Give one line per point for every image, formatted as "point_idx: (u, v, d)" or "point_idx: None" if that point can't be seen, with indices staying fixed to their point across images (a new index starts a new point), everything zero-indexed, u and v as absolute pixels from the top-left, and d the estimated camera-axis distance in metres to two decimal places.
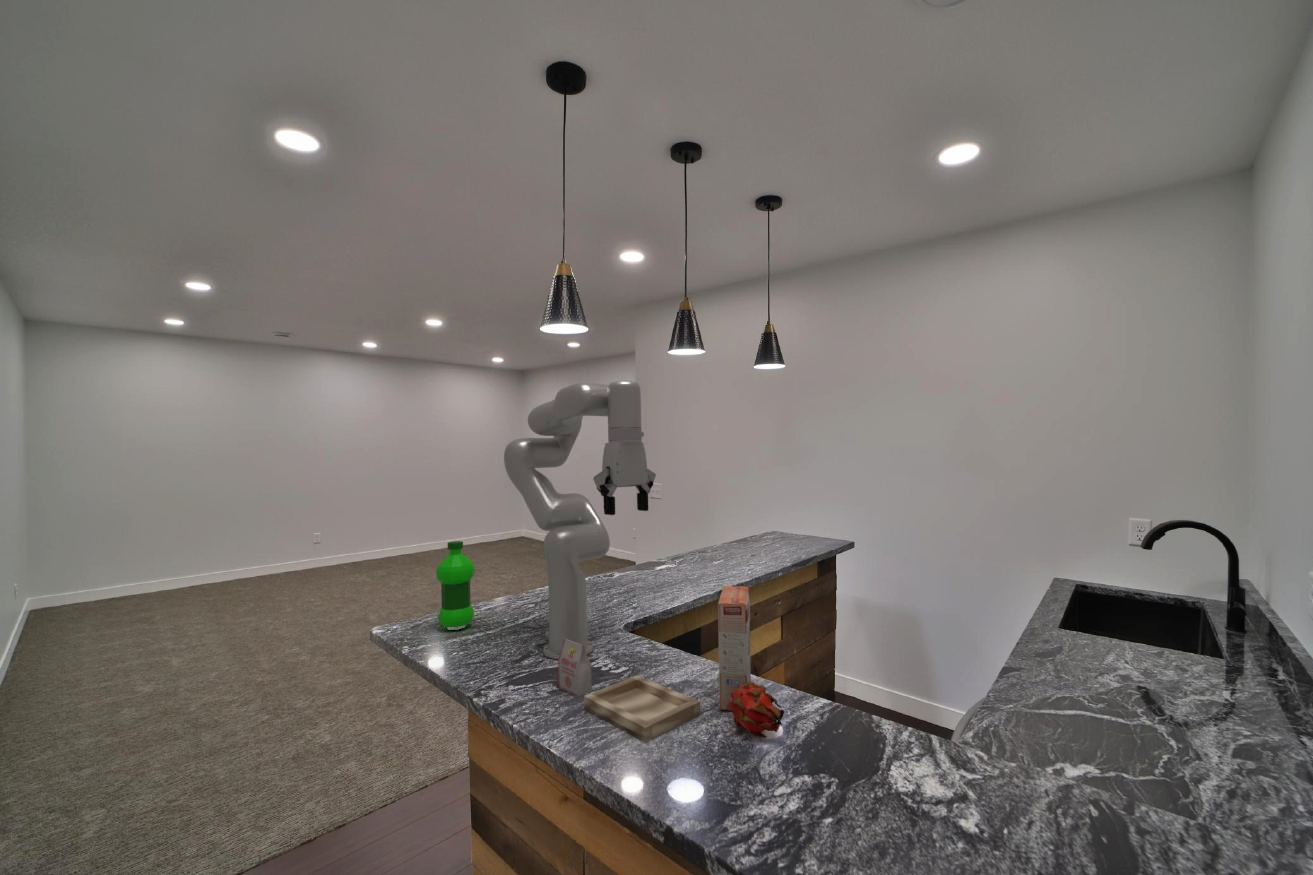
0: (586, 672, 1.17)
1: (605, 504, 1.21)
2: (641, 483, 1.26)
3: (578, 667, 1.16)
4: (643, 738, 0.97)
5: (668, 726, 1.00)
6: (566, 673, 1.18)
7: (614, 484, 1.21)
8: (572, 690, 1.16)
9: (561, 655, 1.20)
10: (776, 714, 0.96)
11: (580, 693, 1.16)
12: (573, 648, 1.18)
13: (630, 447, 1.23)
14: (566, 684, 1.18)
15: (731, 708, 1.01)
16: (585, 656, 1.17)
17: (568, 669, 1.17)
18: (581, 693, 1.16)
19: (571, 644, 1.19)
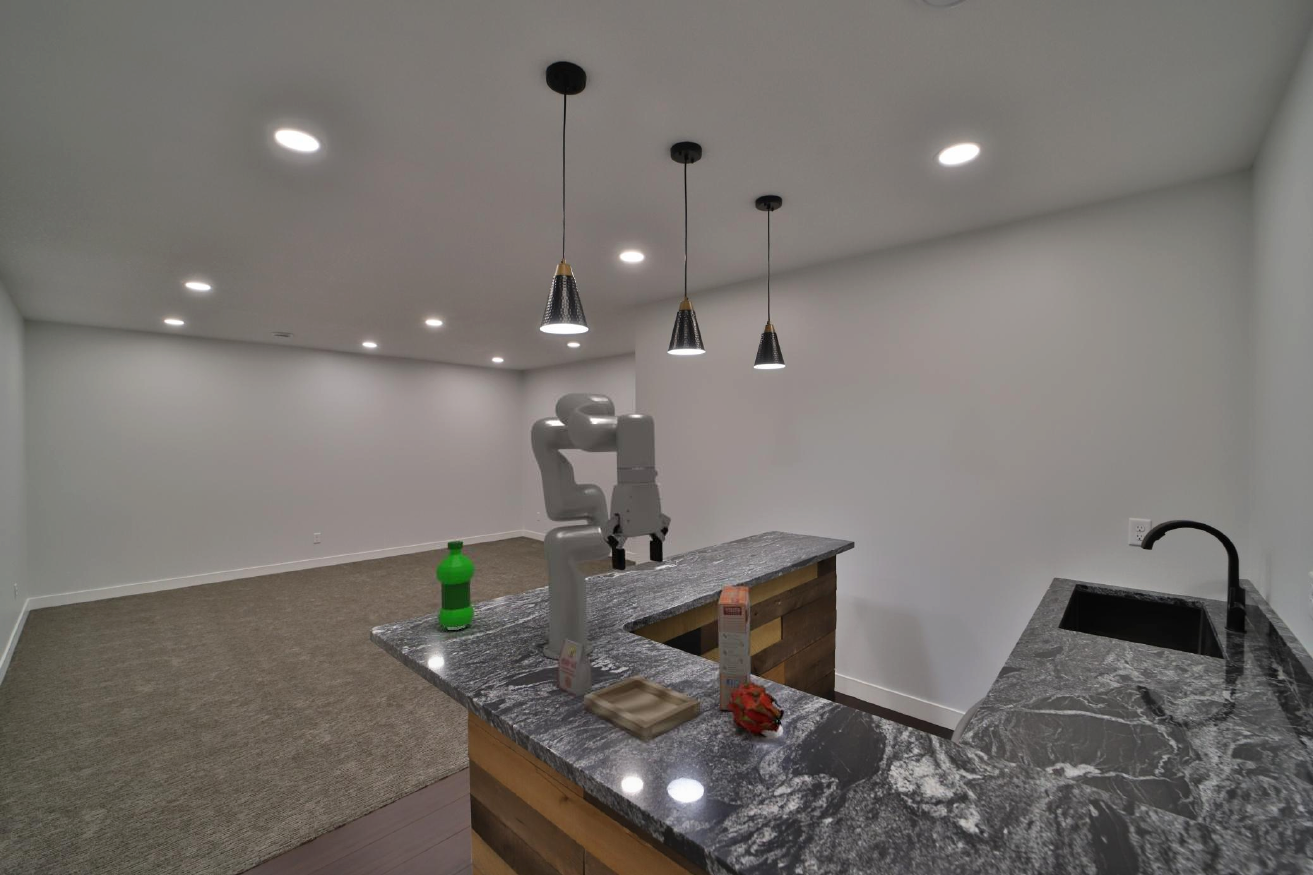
0: (586, 672, 1.17)
1: (614, 557, 1.05)
2: (654, 531, 1.09)
3: (578, 667, 1.16)
4: (643, 738, 0.97)
5: (668, 726, 1.00)
6: (566, 673, 1.18)
7: (624, 534, 1.04)
8: (572, 690, 1.16)
9: (561, 655, 1.20)
10: (776, 714, 0.96)
11: (580, 693, 1.16)
12: (573, 648, 1.18)
13: (642, 491, 1.06)
14: (566, 684, 1.18)
15: (731, 708, 1.01)
16: (585, 656, 1.17)
17: (568, 669, 1.17)
18: (581, 693, 1.16)
19: (571, 644, 1.19)
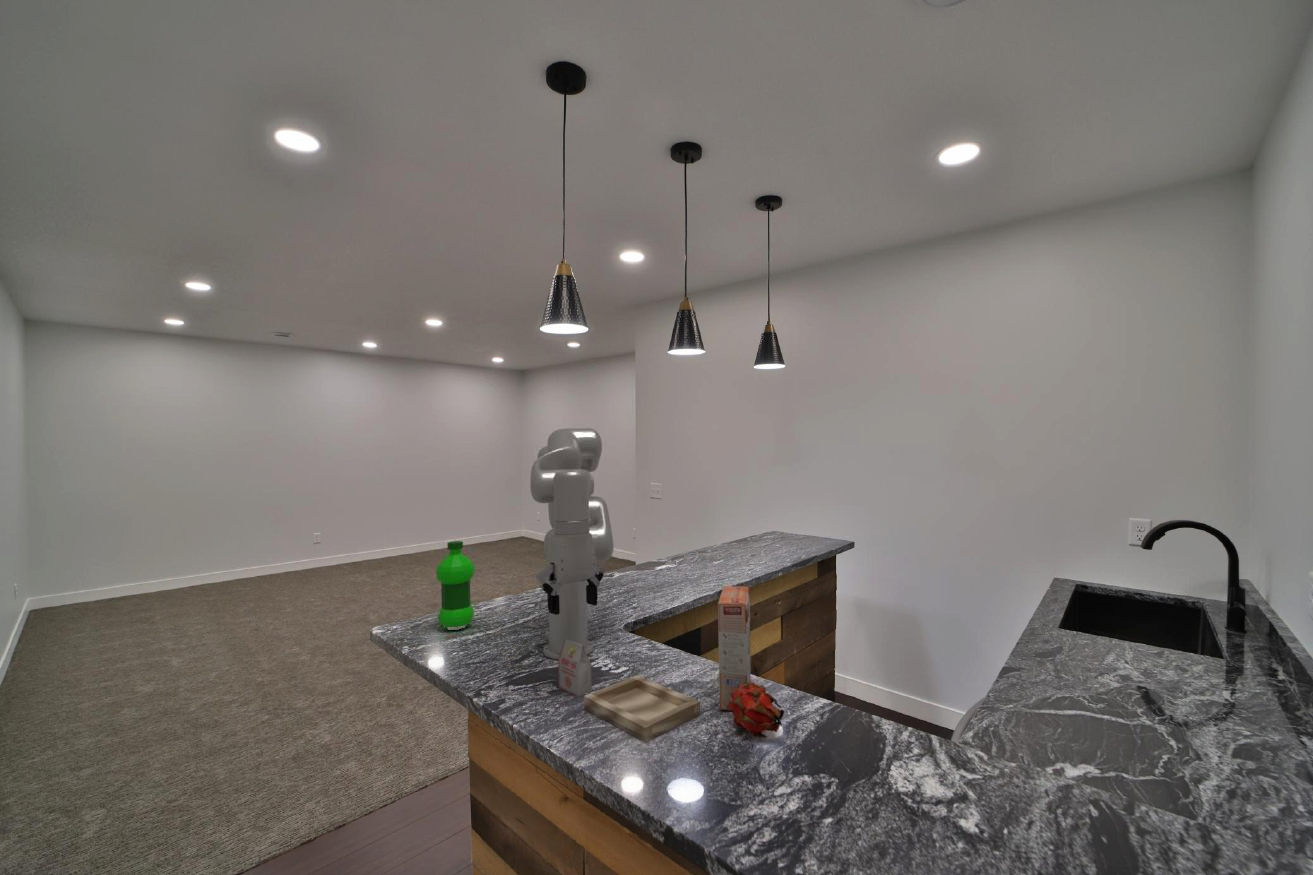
0: (585, 672, 1.17)
1: (549, 603, 1.15)
2: (588, 577, 1.19)
3: (578, 667, 1.16)
4: (643, 738, 0.97)
5: (668, 726, 1.00)
6: (566, 673, 1.18)
7: (558, 582, 1.15)
8: (572, 690, 1.16)
9: (561, 655, 1.20)
10: (776, 714, 0.96)
11: (580, 693, 1.16)
12: (573, 648, 1.18)
13: (576, 541, 1.17)
14: (566, 684, 1.18)
15: (731, 708, 1.01)
16: (585, 656, 1.17)
17: (568, 669, 1.17)
18: (581, 693, 1.16)
19: (571, 644, 1.19)
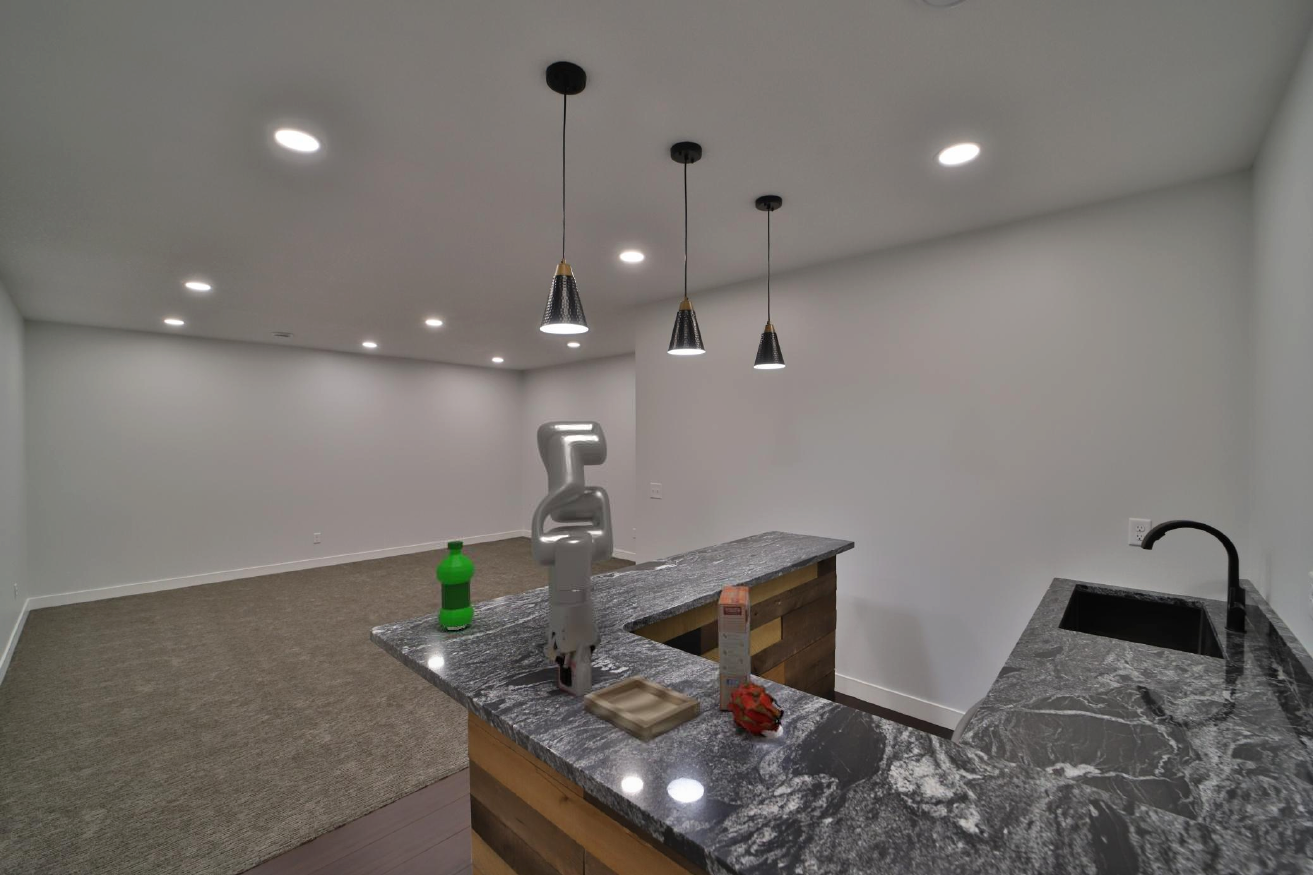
0: (586, 672, 1.17)
1: (561, 674, 1.17)
2: (590, 644, 1.19)
3: (578, 667, 1.16)
4: (643, 738, 0.97)
5: (668, 726, 1.00)
6: None
7: (560, 652, 1.15)
8: (572, 690, 1.16)
9: None
10: (776, 714, 0.96)
11: (580, 693, 1.16)
12: None
13: (577, 610, 1.17)
14: None
15: (731, 708, 1.01)
16: (585, 656, 1.17)
17: None
18: (581, 693, 1.16)
19: None
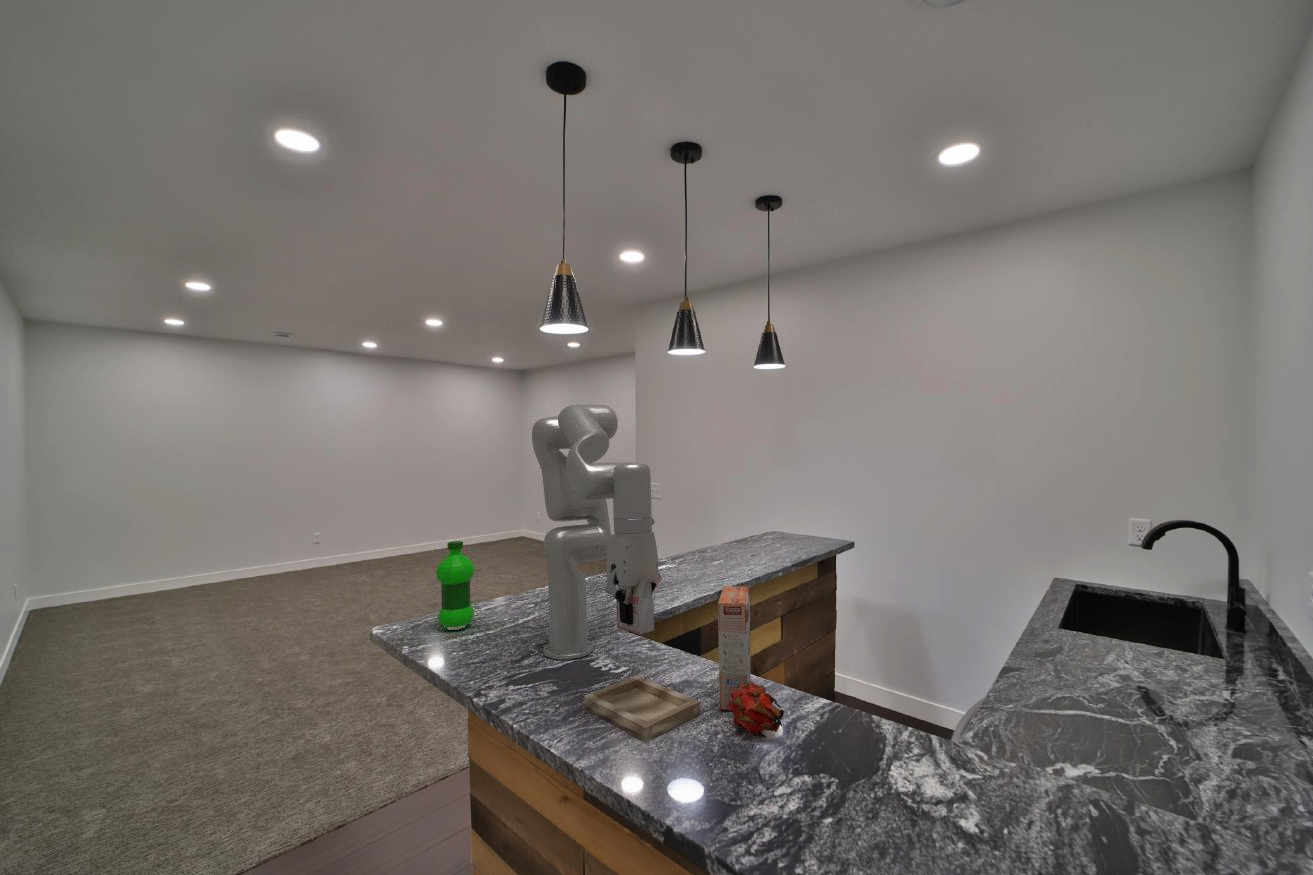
0: (648, 609, 1.07)
1: (621, 612, 1.07)
2: (651, 580, 1.09)
3: (640, 602, 1.05)
4: (643, 738, 0.97)
5: (668, 726, 1.00)
6: None
7: (621, 585, 1.05)
8: (634, 628, 1.06)
9: None
10: (776, 714, 0.96)
11: (643, 631, 1.06)
12: None
13: (638, 541, 1.07)
14: None
15: (731, 708, 1.01)
16: (647, 591, 1.07)
17: None
18: (644, 631, 1.06)
19: None
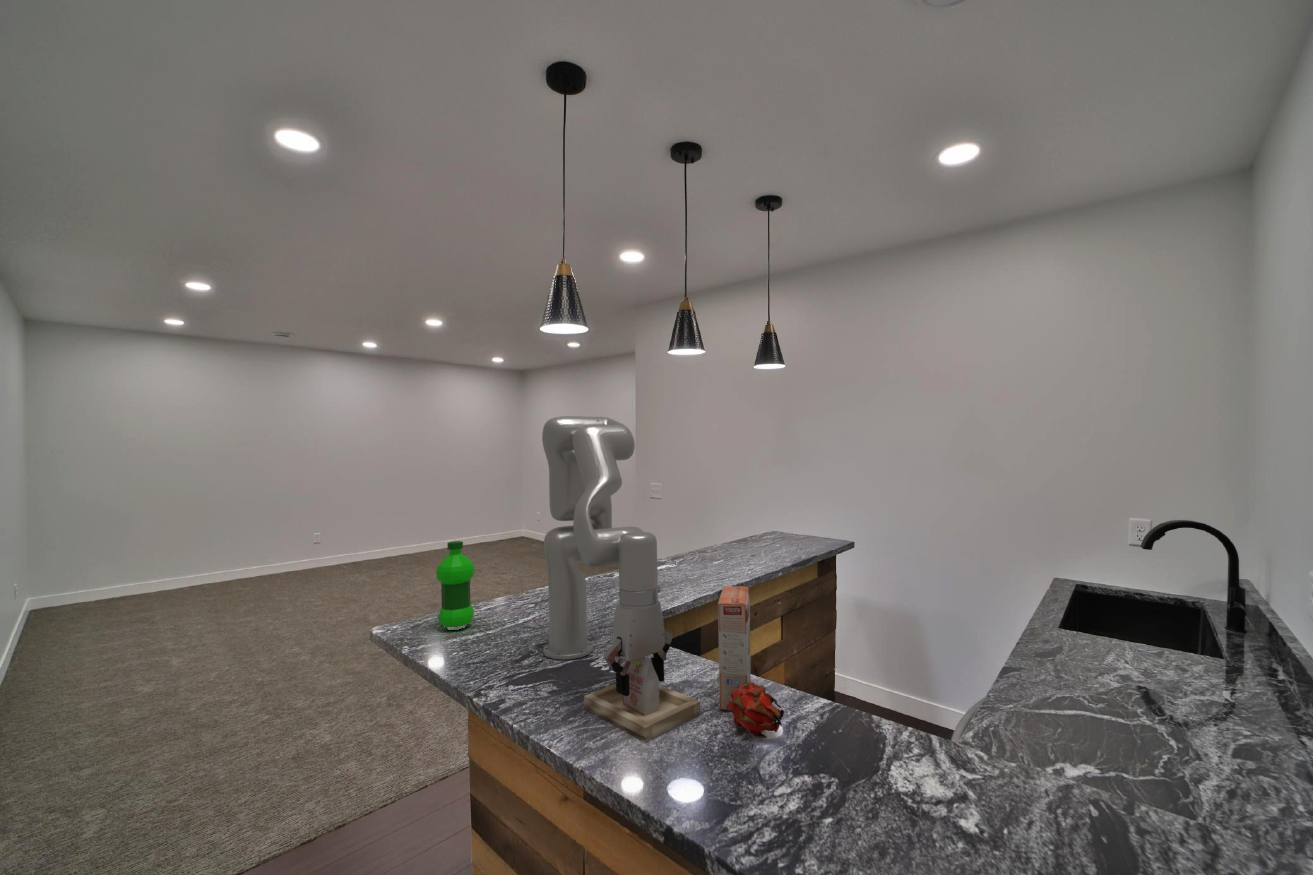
0: (653, 689, 1.06)
1: (618, 683, 1.04)
2: (657, 650, 1.08)
3: (645, 683, 1.05)
4: (643, 738, 0.97)
5: (668, 726, 1.00)
6: (631, 690, 1.07)
7: (627, 659, 1.04)
8: (638, 708, 1.06)
9: None
10: (776, 714, 0.96)
11: (647, 712, 1.05)
12: (639, 662, 1.07)
13: (644, 612, 1.06)
14: (631, 701, 1.07)
15: (731, 708, 1.01)
16: (652, 671, 1.06)
17: (633, 685, 1.07)
18: (648, 712, 1.05)
19: None
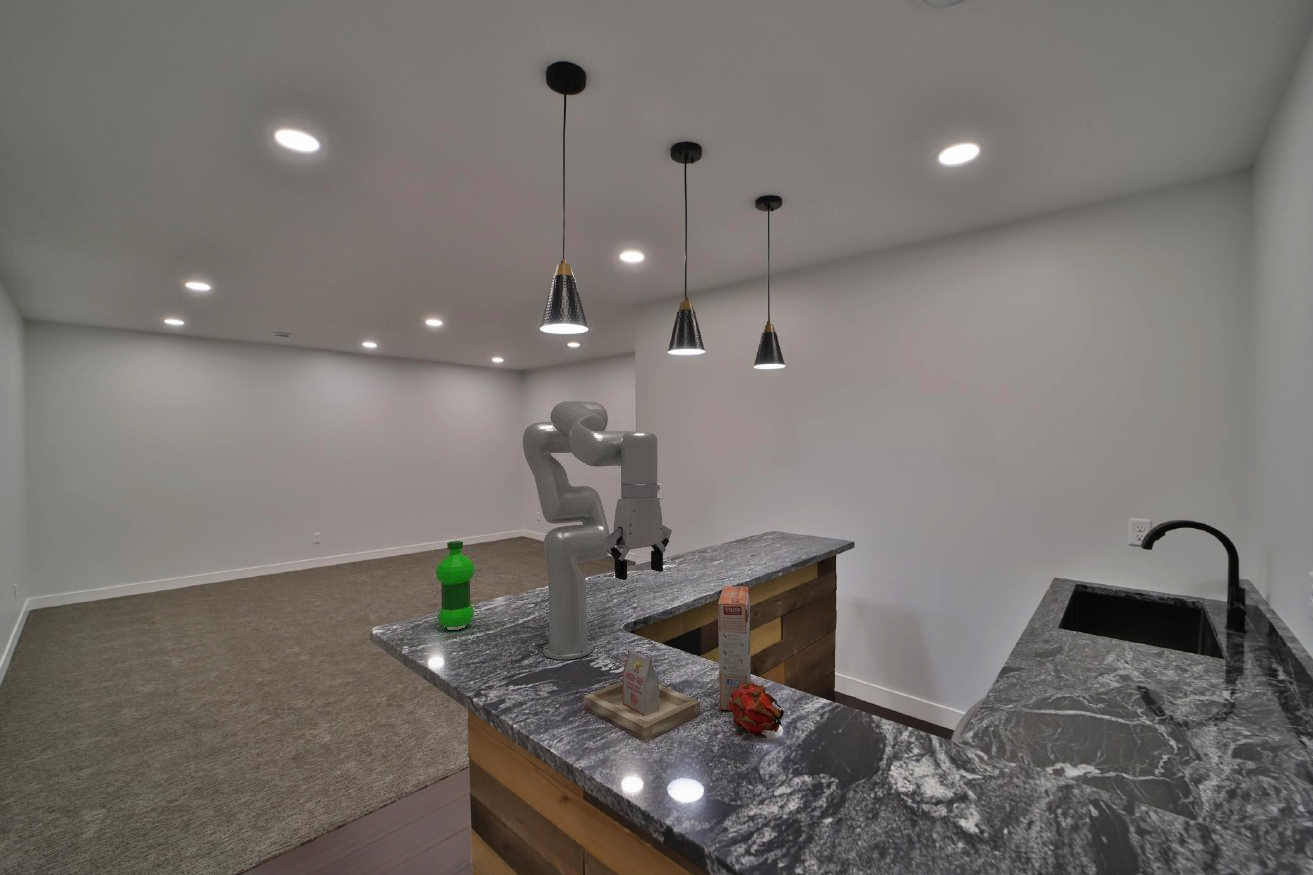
0: (653, 689, 1.06)
1: (616, 568, 1.11)
2: (655, 543, 1.15)
3: (645, 683, 1.05)
4: (643, 738, 0.97)
5: (668, 726, 1.00)
6: (631, 690, 1.07)
7: (626, 546, 1.11)
8: (638, 708, 1.06)
9: (625, 669, 1.09)
10: (776, 714, 0.96)
11: (647, 712, 1.05)
12: (639, 662, 1.07)
13: (644, 505, 1.13)
14: (631, 701, 1.07)
15: (731, 708, 1.01)
16: (652, 671, 1.06)
17: (633, 685, 1.07)
18: (648, 712, 1.05)
19: (637, 657, 1.08)
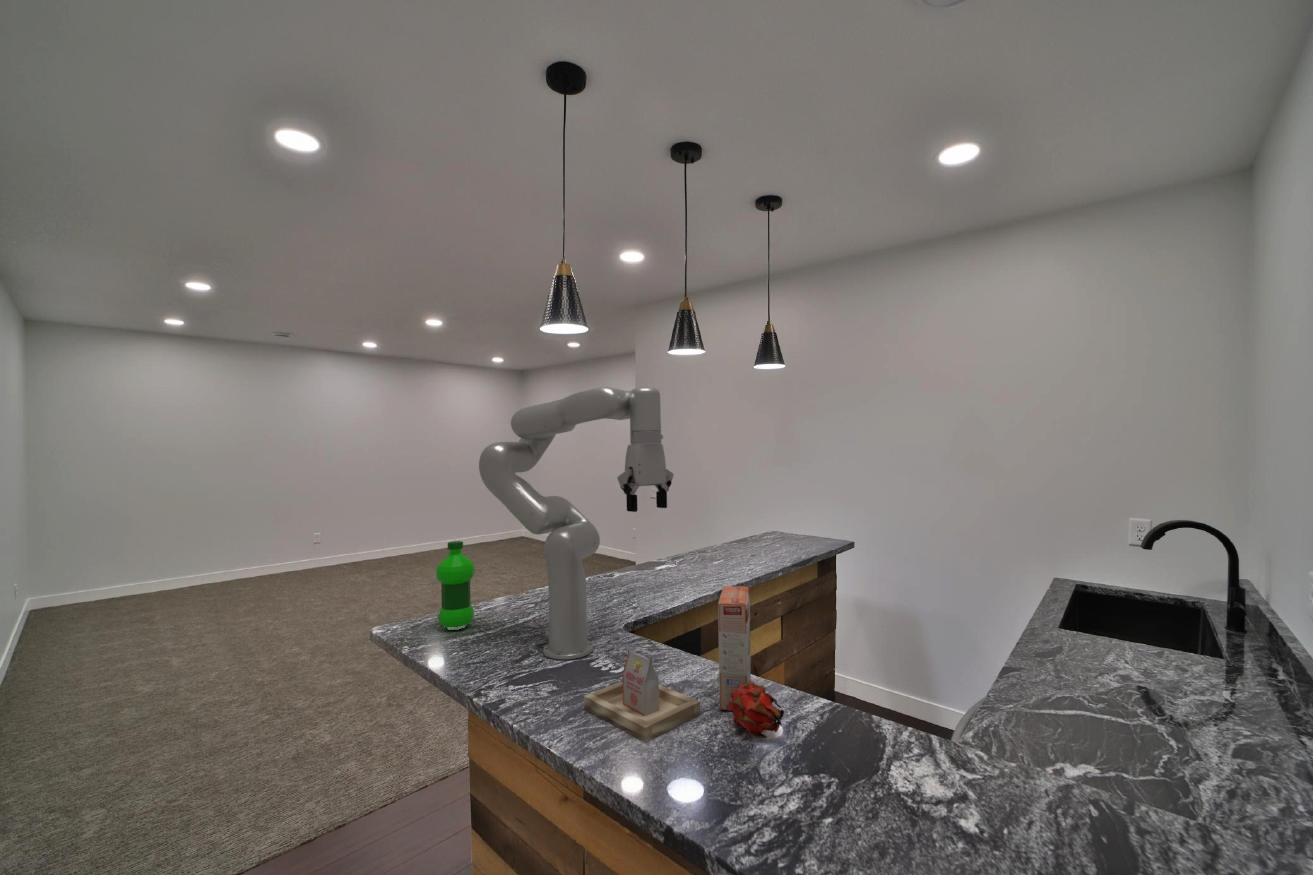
0: (653, 689, 1.06)
1: (628, 502, 1.31)
2: (660, 482, 1.35)
3: (645, 683, 1.05)
4: (643, 738, 0.97)
5: (668, 726, 1.00)
6: (631, 690, 1.07)
7: (636, 483, 1.31)
8: (638, 708, 1.06)
9: (625, 669, 1.09)
10: (776, 714, 0.96)
11: (647, 712, 1.05)
12: (639, 662, 1.07)
13: (650, 449, 1.33)
14: (631, 701, 1.07)
15: (731, 708, 1.01)
16: (652, 671, 1.06)
17: (633, 685, 1.07)
18: (648, 712, 1.05)
19: (637, 657, 1.08)
